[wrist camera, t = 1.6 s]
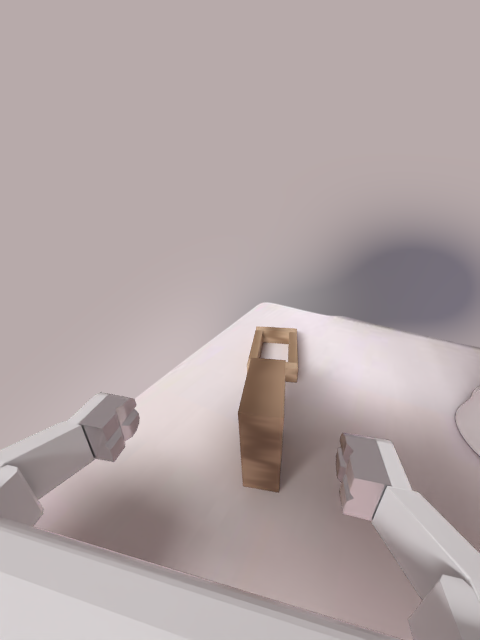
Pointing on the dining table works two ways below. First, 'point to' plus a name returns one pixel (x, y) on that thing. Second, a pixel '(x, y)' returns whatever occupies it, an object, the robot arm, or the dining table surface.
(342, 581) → the dining table surface
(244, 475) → the block
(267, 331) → the wooden rectangular frame
